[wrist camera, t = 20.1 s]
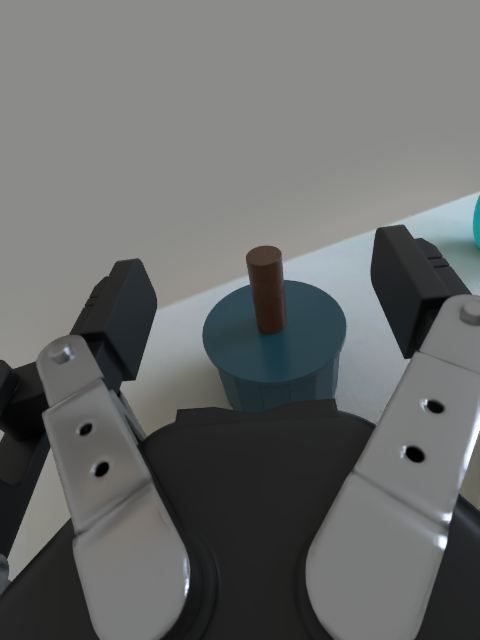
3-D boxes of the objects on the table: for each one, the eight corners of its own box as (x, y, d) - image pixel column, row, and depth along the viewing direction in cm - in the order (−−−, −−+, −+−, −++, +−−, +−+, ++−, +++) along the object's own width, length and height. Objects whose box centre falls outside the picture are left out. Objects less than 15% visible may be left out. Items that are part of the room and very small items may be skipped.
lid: (304, 274, 35) (302, 200, 29) (376, 356, 26) (393, 272, 20) (191, 312, 33) (167, 242, 28) (228, 414, 24) (202, 339, 19)
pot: (303, 327, 39) (302, 273, 34) (359, 404, 31) (368, 348, 26) (213, 360, 38) (196, 309, 32) (246, 450, 30) (231, 401, 24)
